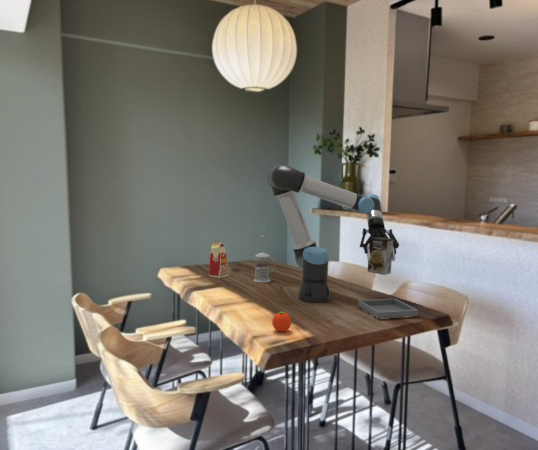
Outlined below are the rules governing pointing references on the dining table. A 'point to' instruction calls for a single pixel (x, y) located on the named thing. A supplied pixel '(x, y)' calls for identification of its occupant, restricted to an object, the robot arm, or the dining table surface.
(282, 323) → the clementine
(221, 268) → the milk carton
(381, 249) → the coffee box
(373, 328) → the dining table surface
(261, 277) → the french press
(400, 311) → the tray
